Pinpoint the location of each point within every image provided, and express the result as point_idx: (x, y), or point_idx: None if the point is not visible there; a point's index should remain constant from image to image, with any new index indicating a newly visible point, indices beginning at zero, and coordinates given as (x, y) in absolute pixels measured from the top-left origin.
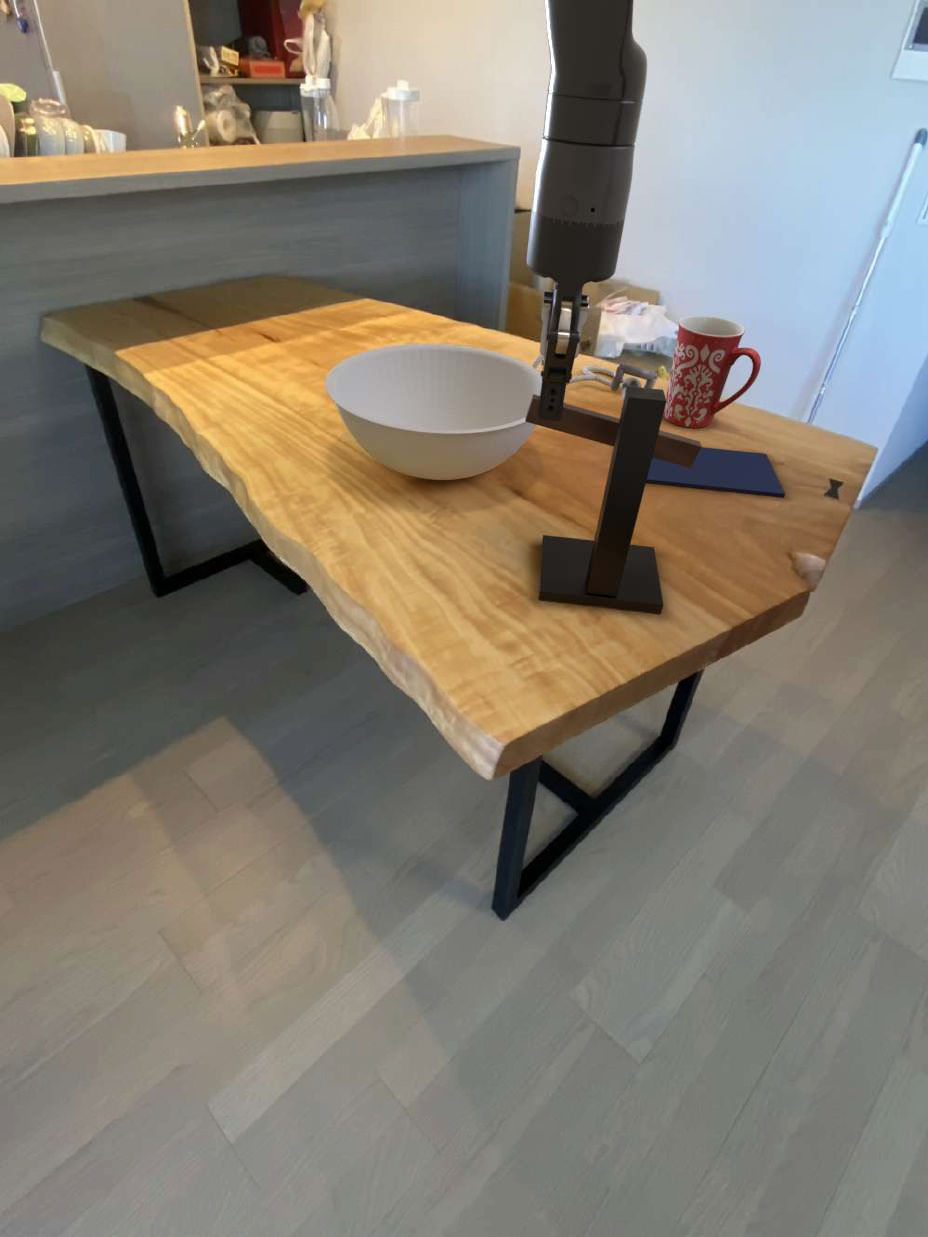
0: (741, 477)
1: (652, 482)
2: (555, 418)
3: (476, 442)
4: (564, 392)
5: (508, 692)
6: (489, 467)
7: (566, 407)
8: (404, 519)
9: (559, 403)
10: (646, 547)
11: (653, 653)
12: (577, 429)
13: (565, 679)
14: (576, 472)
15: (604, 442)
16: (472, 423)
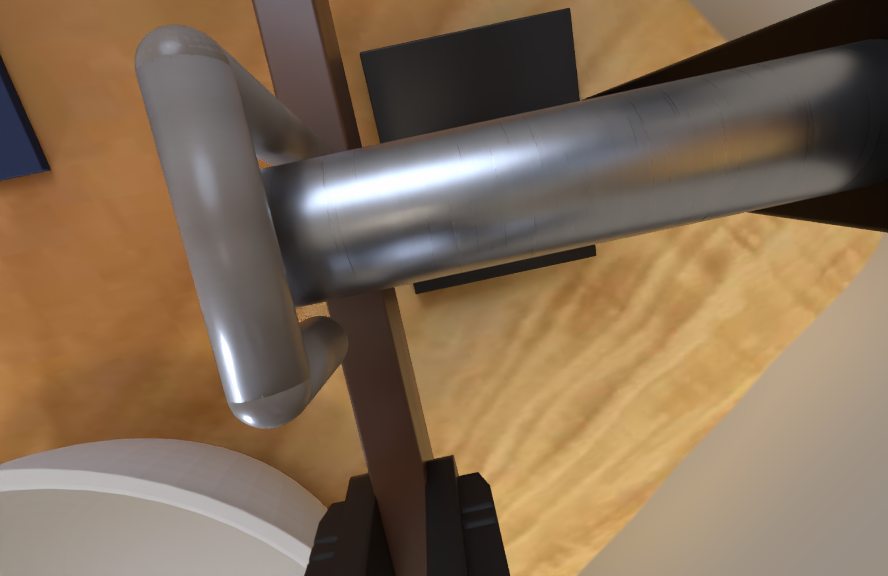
0: None
1: (15, 94)
2: (456, 470)
3: None
4: (463, 544)
5: (810, 239)
6: (267, 464)
7: (416, 469)
8: None
9: (462, 512)
10: (369, 70)
11: (679, 19)
12: (410, 370)
13: None
14: (87, 286)
15: None
16: (63, 551)
